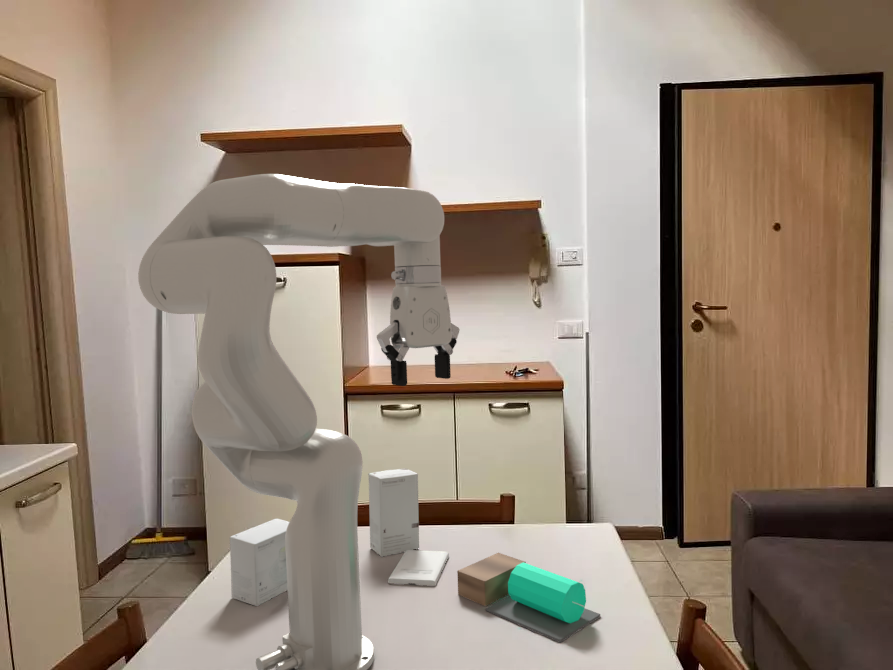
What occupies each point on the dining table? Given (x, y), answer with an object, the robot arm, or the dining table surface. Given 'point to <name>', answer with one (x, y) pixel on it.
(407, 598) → the dining table surface
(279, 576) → the skincare box
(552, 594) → the candle
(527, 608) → the mat
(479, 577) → the step block
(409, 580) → the external hard drive
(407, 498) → the skincare box
